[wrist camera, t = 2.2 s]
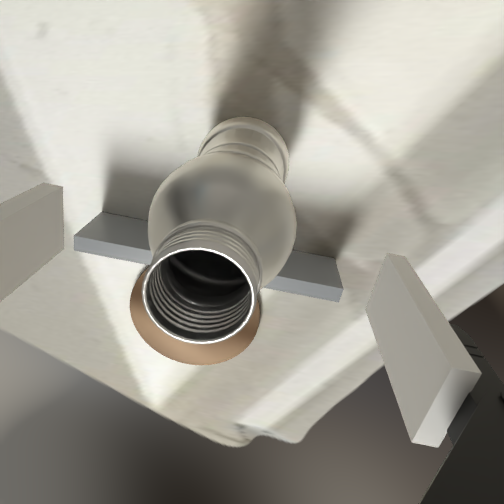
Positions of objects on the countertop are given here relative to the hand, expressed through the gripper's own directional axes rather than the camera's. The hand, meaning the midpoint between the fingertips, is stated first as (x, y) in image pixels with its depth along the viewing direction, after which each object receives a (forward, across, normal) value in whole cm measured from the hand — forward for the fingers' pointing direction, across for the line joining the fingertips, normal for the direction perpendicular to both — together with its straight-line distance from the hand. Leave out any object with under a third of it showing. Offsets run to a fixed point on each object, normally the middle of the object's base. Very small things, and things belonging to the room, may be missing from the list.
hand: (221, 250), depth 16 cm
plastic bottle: (+16, 0, 0) cm, 16 cm away
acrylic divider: (+16, -1, -7) cm, 18 cm away
